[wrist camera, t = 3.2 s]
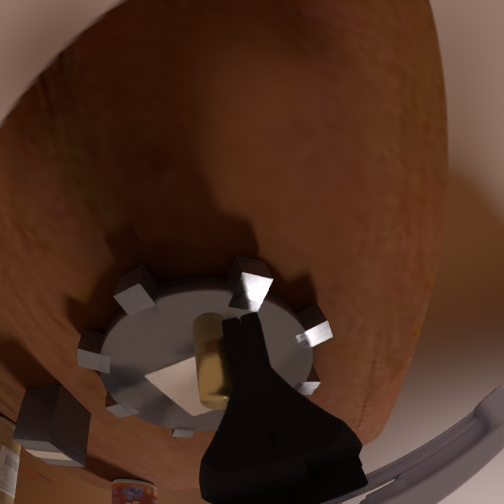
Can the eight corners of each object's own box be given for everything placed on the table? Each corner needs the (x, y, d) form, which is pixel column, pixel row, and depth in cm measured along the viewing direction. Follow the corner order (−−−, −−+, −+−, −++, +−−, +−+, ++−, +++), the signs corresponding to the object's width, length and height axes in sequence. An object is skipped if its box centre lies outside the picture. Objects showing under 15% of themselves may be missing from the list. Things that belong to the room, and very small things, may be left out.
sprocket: (340, 372, 19) (371, 431, 15) (173, 436, 20) (178, 494, 15) (276, 198, 12) (334, 261, 7) (37, 323, 12) (5, 400, 8)
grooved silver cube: (91, 413, 17) (85, 468, 13) (56, 414, 17) (47, 464, 13) (61, 383, 15) (48, 443, 11) (27, 386, 15) (12, 439, 11)
